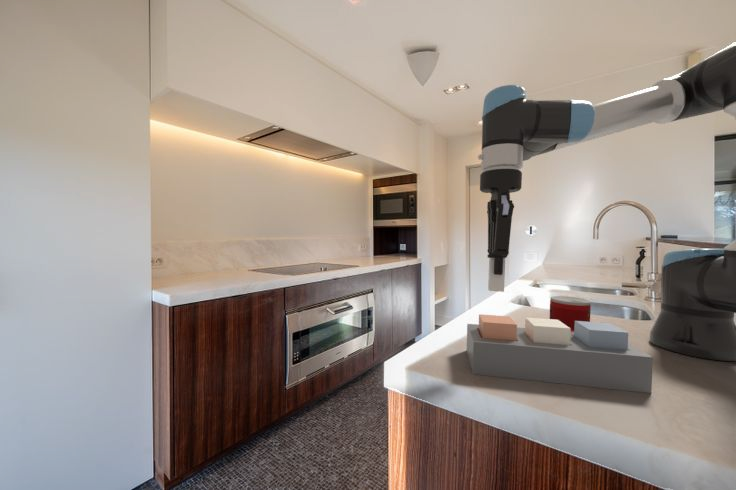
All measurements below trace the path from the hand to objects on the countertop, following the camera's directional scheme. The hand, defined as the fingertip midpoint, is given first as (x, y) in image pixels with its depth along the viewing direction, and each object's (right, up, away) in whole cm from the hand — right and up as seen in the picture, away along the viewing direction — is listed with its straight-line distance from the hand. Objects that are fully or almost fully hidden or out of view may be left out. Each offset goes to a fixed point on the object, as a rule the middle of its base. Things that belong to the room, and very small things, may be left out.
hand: (495, 290), depth 61 cm
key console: (+9, -15, -2) cm, 17 cm away
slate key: (+18, -11, -4) cm, 21 cm away
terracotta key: (0, -11, 0) cm, 11 cm away
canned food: (+22, -15, +12) cm, 29 cm away
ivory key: (+9, -11, -2) cm, 14 cm away
